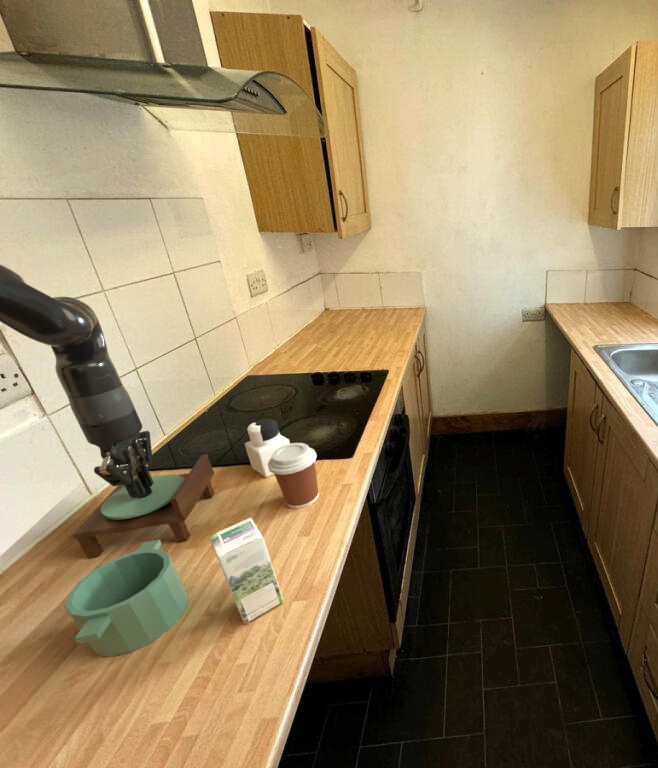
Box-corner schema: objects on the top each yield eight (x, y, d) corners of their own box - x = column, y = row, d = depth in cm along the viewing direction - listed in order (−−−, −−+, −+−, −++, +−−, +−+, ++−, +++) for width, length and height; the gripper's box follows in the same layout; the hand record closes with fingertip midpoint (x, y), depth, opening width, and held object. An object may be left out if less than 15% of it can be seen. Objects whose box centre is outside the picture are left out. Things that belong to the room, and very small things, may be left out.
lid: (86, 528, 74) (69, 498, 71) (126, 485, 85) (113, 457, 83) (169, 514, 77) (156, 485, 74) (197, 474, 88) (187, 447, 86)
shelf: (85, 560, 75) (60, 516, 71) (131, 506, 88) (112, 467, 84) (193, 540, 79) (175, 498, 75) (221, 491, 92) (207, 453, 88)
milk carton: (273, 581, 70) (250, 514, 64) (285, 603, 66) (262, 534, 61) (235, 602, 67) (207, 533, 61) (245, 627, 63) (216, 556, 57)
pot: (58, 686, 55) (27, 644, 52) (128, 582, 70) (107, 545, 67) (159, 662, 58) (136, 621, 55) (206, 567, 73) (190, 530, 70)
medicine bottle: (281, 454, 106) (269, 413, 101) (295, 464, 102) (284, 421, 97) (251, 468, 100) (237, 424, 95) (266, 478, 96) (252, 434, 92)
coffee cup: (302, 517, 85) (289, 468, 80) (269, 506, 88) (254, 459, 83) (334, 490, 92) (324, 444, 88) (302, 481, 95) (291, 436, 90)
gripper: (104, 398, 79) (139, 473, 86) (52, 435, 66) (97, 519, 73) (150, 393, 80) (181, 467, 87) (108, 428, 68) (147, 511, 75)
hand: (142, 490), depth 80 cm, fingers closed on lid, 2 cm apart
